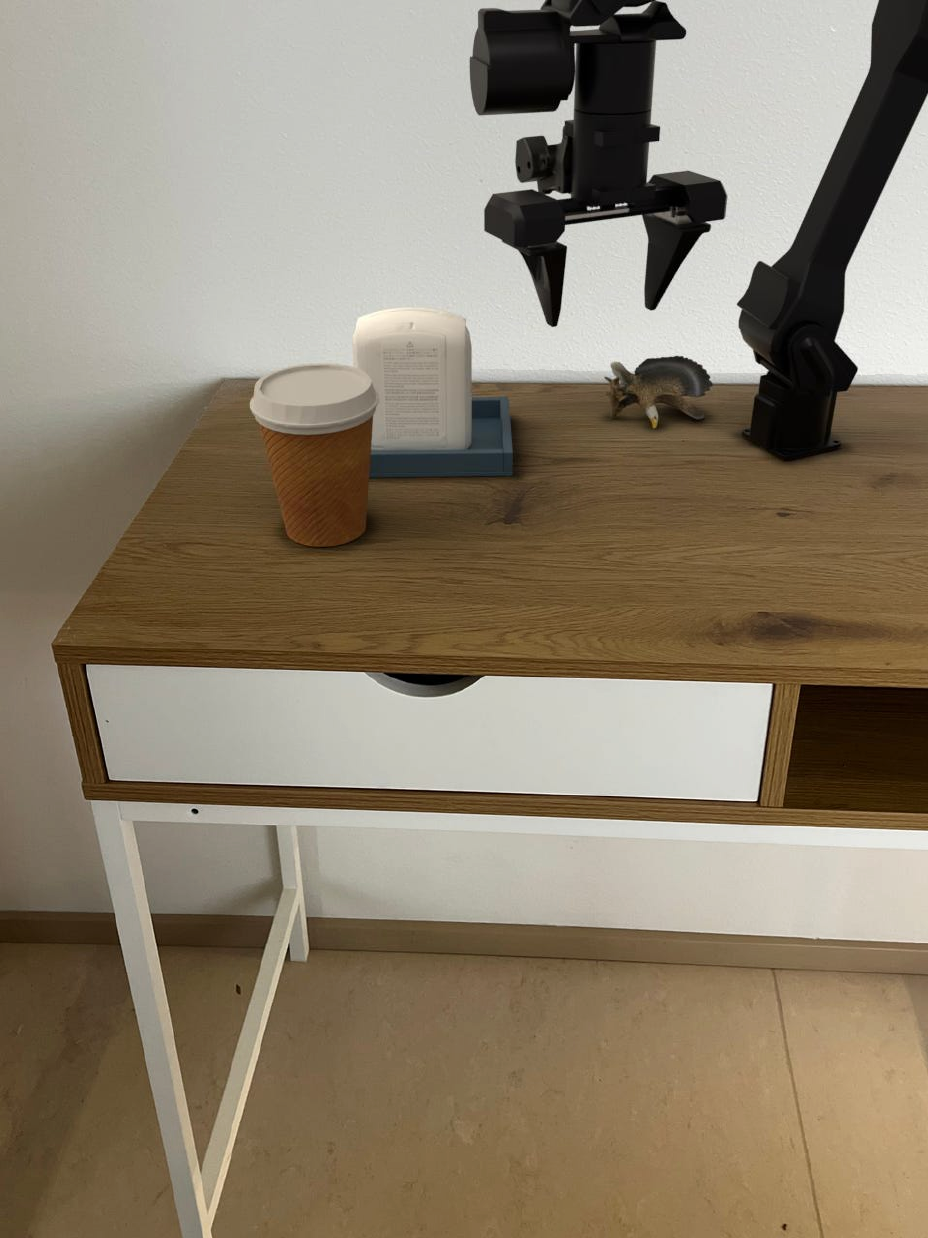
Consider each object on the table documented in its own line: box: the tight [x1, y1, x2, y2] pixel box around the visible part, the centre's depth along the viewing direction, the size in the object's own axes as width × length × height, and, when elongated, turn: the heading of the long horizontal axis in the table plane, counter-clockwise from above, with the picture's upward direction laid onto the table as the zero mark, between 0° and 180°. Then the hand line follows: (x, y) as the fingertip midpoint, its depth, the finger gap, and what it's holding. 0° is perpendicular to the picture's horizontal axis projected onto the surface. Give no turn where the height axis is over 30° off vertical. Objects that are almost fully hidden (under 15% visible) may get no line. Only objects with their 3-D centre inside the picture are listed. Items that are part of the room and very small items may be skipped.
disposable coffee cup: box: [249, 362, 379, 548], centre depth 87 cm, size 10×10×12 cm
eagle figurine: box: [604, 355, 713, 429], centre depth 106 cm, size 8×7×9 cm
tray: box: [369, 396, 514, 479], centre depth 103 cm, size 18×13×2 cm
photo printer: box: [351, 306, 473, 451], centre depth 99 cm, size 10×4×12 cm, turn 89°
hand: (601, 316), depth 93 cm, fingers open, 9 cm apart
